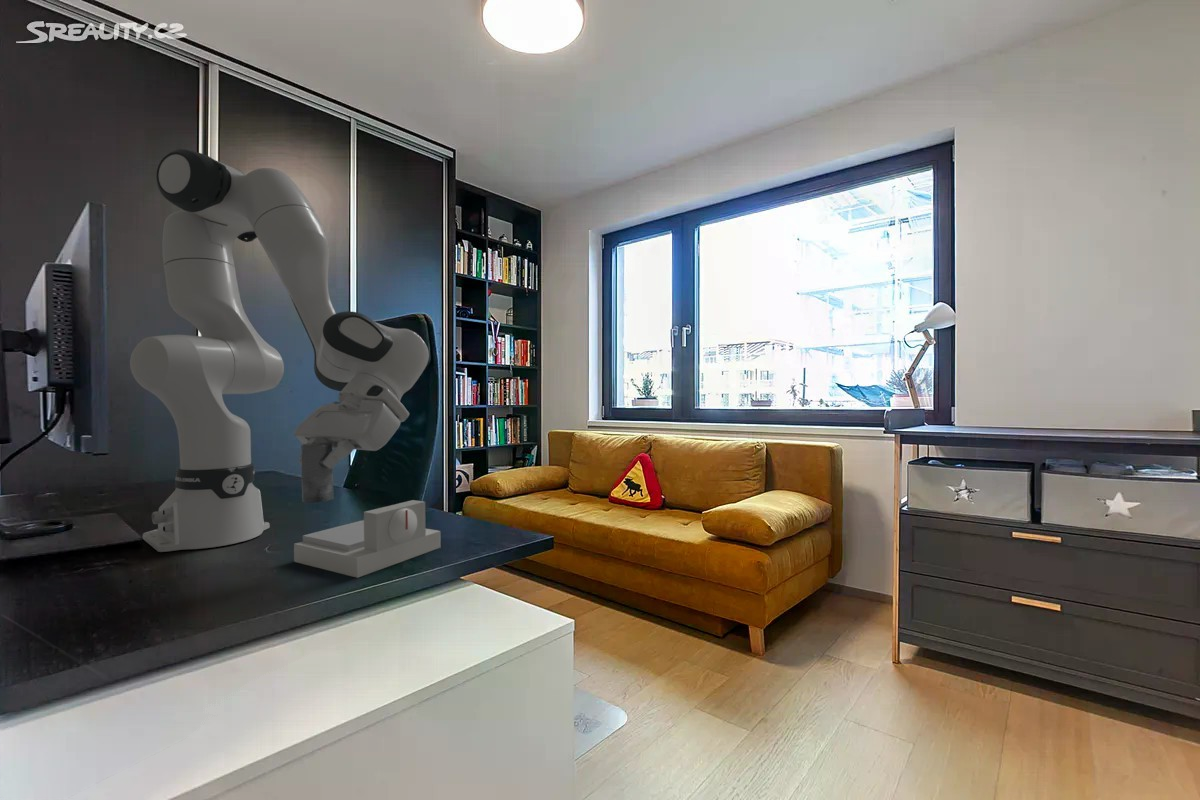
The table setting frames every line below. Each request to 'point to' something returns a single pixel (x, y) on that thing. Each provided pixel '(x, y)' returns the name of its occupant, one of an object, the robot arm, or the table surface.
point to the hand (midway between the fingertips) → (313, 465)
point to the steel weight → (316, 473)
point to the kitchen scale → (370, 541)
